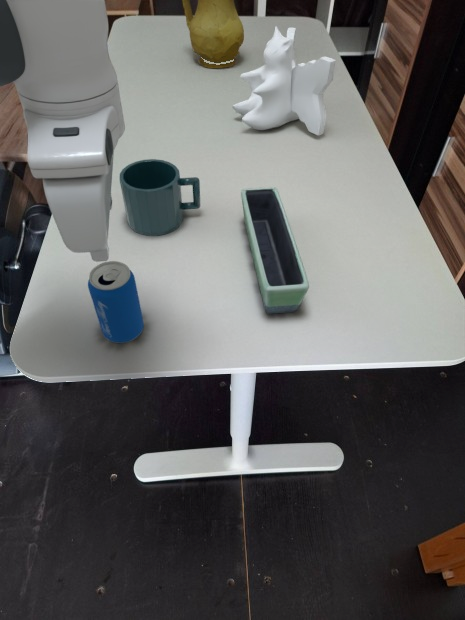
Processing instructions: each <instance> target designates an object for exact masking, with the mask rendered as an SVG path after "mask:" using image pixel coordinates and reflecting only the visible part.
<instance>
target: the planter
mask: <svg viewBox="0 0 465 620" xmlns="http://www.w3.org/2000/svg"><path fill="white" fill-rule="evenodd" d="M240 198H241V205H242V211H243V219H244V224H245V229H246V233H247V238H248V241H249V247H250V251H251V256H252V260H253V264H254V269H255V273H256V277H257V281H258V285H259V291H260V295H261V298H262V302H263V307H264V310H265V312H266V314H269V315H271V314H285V313H294V312H296V311H297V310H298V309H299V307H300V305H301V303H302V302H303V300H304V298H305V296H306V294H307V293H308V291H309V288H310V281H309V279H308V276H307V272H306V270H305V266H304V263H303V261H302V257H301V254H300V251H299V249H298V248H299V247H298V246H297V243H296V239H295V236H294V234H293V231H292V227H291V225H290V222H289V219H288V216H287V213H286V210H285V207H284V203H283V200H282V198H281V195H280V192H279V191H278V188H277V187H273V186H272V187H271V186H269V187H252V188H251V187H250V188H242V189H241V190H240Z"/></svg>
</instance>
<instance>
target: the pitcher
mask: <svg viewBox="0 0 465 620" xmlns="http://www.w3.org/2000/svg"><path fill="white" fill-rule="evenodd" d="M181 1H182V8H183V9H184V16H185V18H186V19H185V21H186V27H187V29H188V31H189V39H190V43H191V47H192V50H193V52H194V53H195V54H197V55H198V56H199V57H200V58H199V59H198V61H197V62H198V64H199V65H200V66H202V67H205V68H207V69H226V68H231V67H233V66H235V65H237V61H236V59H235V58H236V57H237V56H238V55H239V54H240V51H239V50H240V47H242V45H243V43H244V40H245V30H244V29H245V28H244V25H243V22H242V20H241V18H240V16H239V14H238V11H237V8H236V5H235V0H197V6H196V9H195V12H194V14H193V9H192V5H191V1H190V0H181ZM201 57H202V58H203V59H205V60H207V61H210V62H214V63H221V62H226V61H230V60H233V59H234V61H233V62H230V63H226V64H220V65H216V64H209V63H206V62H204V60H203V59H202V58H201Z"/></svg>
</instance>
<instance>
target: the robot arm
mask: <svg viewBox="0 0 465 620" xmlns="http://www.w3.org/2000/svg"><path fill="white" fill-rule="evenodd" d="M109 27H110V26H109V18H108V12H107V6H106V1H105V0H0V87H3V86H7V85H8V84H11V83H13V84H14V86H15V89H16V92H17V95H18V99H19V101H20V105H21V107H22V110H23V111H22V115H23V119H24V123H25V125H26V130H27V133H26V137H27V138H26V160H27V164H28V168H29V170H30V173H31V175H32V177H33V178H34V179H42V184H43V191H44V196H45V199H46V202H47V204H48V208H49V210H50V213H51V216H52V218H53V220H54V223H55V225H56V227H57V230H58V232H59V235H60V237H61V239H62V241H63V243H64V245H65V247H66V248H67V249H68V250H69V251H70V252H72V253H76V254H81V253H82V254H83V253H89V254H90V257H91V260H92V261H93V262H96V263H97V262H108V260H109V258H110V247H109V229H110V215H111V214H110V212H111V211H112V208H113V198H112V184H113V170H114V169H113V168H114V156H115V149H116V147H117V145H118V142H119V140H120V139H121V137H122V136H123V135H124V133H125V130H126V125H125V118H124V113H123V106H122V101H121V94H120V93H121V92H120V87H119V81H118V74H117V71H116V69H115V67H114V65H113V62H112V60H111V57H110V53H109V46H108V39H109Z"/></svg>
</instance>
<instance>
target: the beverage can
mask: <svg viewBox="0 0 465 620" xmlns="http://www.w3.org/2000/svg"><path fill="white" fill-rule="evenodd" d="M130 269H131V268H130V267H129V266H128V265H127V264H125V263H124V262H121V261H116V260H109V261H103V262H102V263H99V264H97V265H96V266H94V267H93V268H92V269H91V270H90V272H89V275H88V280H87V289H88V292H89V295H90V298H91V301H92V303H93V304H92V305H93V307H94V311H95V314H96V318H97V321H98V324H99V326H100V330H101V333H102V335H103V337H104V338H105V339H106V340H108V341H110V342H112V343H115V344H116V343H117V344H123V343H128V342H129V343H130V342H132V341H134V340H135V339H137V338H138V337H139V336H140V335H141V333H142V332H143V330H144V326H145V323H144V318H143V313H142V307H141V303H140V298H139V292H138V287H137V281H136V277H135V275H134V273H133V272H132V270H130Z"/></svg>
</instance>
